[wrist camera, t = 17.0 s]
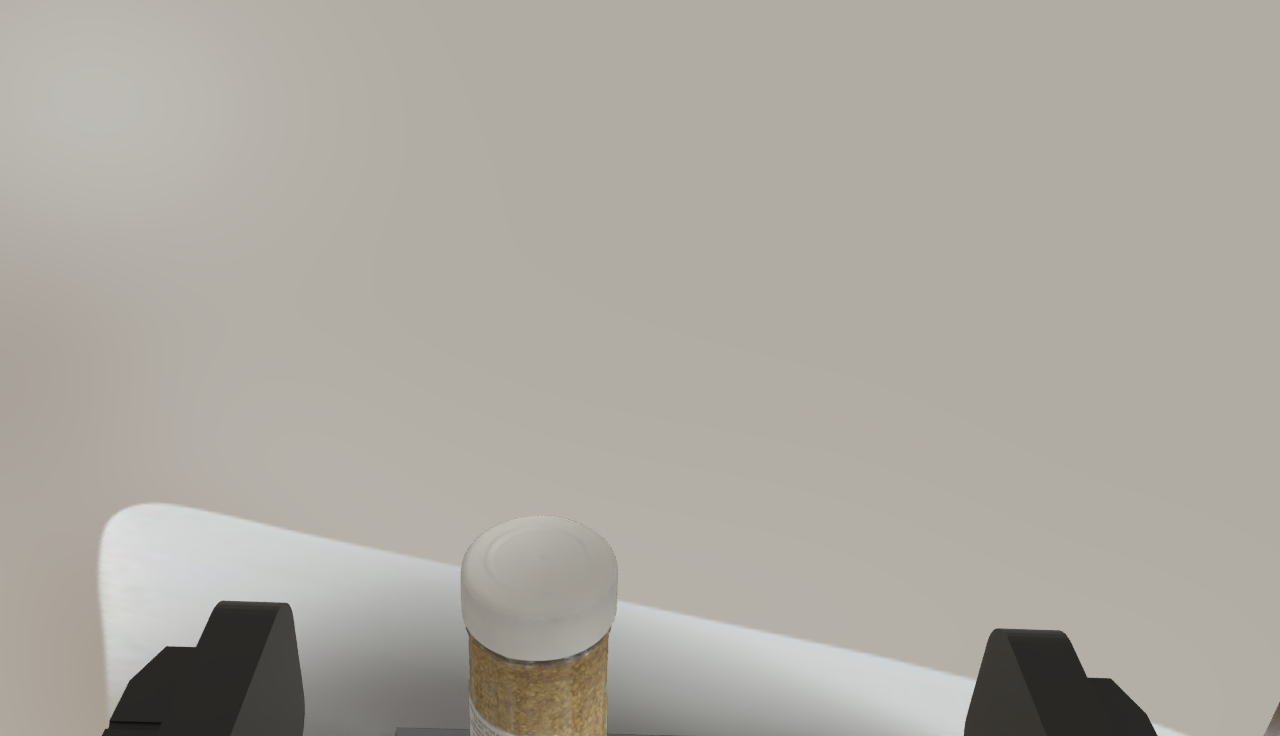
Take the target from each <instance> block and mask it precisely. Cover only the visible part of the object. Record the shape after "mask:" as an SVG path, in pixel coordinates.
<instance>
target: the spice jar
mask: <svg viewBox="0 0 1280 736" xmlns="http://www.w3.org/2000/svg"><path fill="white" fill-rule="evenodd" d="M617 577H618V569H617V562H616V557H615V555H614V553H613V550H612V548H611V547H610V545H609V544H608V543H607V542H606V540H605V539H604V538H603V537H602V536H600V535H599V534H598V533H597V532H595V531H593V530H592V529H591V528H589V527H587V526H585V525H583V524H581V523H578V522H576V521H572V520H569V519H565V518H560V517H552V516H529V517H522V518H517V519H513V520H509V521H506V522H503V523H501V524H498V525H496V526H494V527H492V528H490V529H489V530H487V531H486V532H484V533H483V534H481V535H480V536H479V537H478V538H477V539H476V540H475V541H474V542H473V543H472V544H471V545H470V547H469V548H468V550H467V552H466V554H465V556H464V559H463V562H462V568H461V604H462V615H463V619H464V622H465V625H466V630H467V632H468V635H469V656H470V657H469V665H470V680H469V717H470V736H606V731H607V694H606V682H607V660H608V657H607V654H608V636H609V633H610V630H611V625H612V623H613V621H614V618H615V615H616V610H617V583H618V578H617Z"/></svg>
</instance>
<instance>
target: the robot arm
mask: <svg viewBox="0 0 1280 736" xmlns="http://www.w3.org/2000/svg"><path fill="white" fill-rule="evenodd" d="M304 715H305V703H304V692H303V685H302V677H301V670H300V663H299V656H298V649H297V641H296V634H295V627H294V620H293V614H292V610H291V607H290V605H289V604H288V603H273V602H242V601H221V602H219V603H218V604H217V605H216V606H215V608H214V609H213V611H212V613H211V616H210V618H209V620H208V622H207V624H206V627H205V629H204V631H203V633H202V635H201V638H200V640H199V642H198V644H197V646H196V647H169V646H166V647H165V648H164V649H163V650H162V651H161V652H160V653H159V654H158V655H157V656H156V657H155V658H154V659H152V660H151V661H150V662H149V663H148V664H147V665H146V666H145V667H144V668H143V669H142V670H141V671H140V672H139V673H138V674H136V675H135V676H134V677H133V678H132V679H131V680H130V681H129V683H128V685H127V687H126V689H125V691H124V693H123V695H122V697H121V699H120V701H119V703H118V705H117V707H116V709H115V711H114V713H113V715H112V717H111V719H110V725H109V728H108V729H105V731H104V733H103V735H102V736H302V735H303V727H304ZM964 736H1157V734H1156V732H1155V730H1154V728H1153V726H1152V724H1151V722H1150V720H1149V718H1148V716H1147V714H1146V713H1145V712H1144V711H1143V710H1142V709H1141V708H1140V707H1139V706H1138V705H1137V704H1136V703H1135V702H1134V701H1133V700H1132V699H1131V698H1130V697H1129V696H1128V695H1127V694H1125V692H1123V690H1122V689H1121V688H1120V687H1119V686H1118V685H1117V684H1116V683H1115V682H1114V681H1113V680H1112V679H1107V678H1087V676H1086V674H1085V672H1084V669H1083V667H1082V665H1081V663H1080V661H1079V659H1078V657H1077V654H1076V652H1075V650H1074V648H1073V646H1072V644H1071V642H1070V640H1069V638H1068V637H1067V636H1066V634H1065V633H1063V632H1062V631H1058V630H1057V631H1056V630H1025V629H995V630H993V632H992V633H991V635H990V636H989V639H988V642H987V645H986V649H985V653H984V657H983V660H982V663H981V667H980V671H979V674H978V678H977V681H976V685H975V689H974V692H973V696H972V699H971V703H970V706H969V710H968V714H967V717H966V722H965V729H964ZM1264 736H1280V702H1279V705H1278V707H1277V709H1276V711H1275V713H1274V715H1273V717H1272V719H1271V721H1270V724H1269V726H1268V728H1267V730H1266V732H1265V734H1264Z"/></svg>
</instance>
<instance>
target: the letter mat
mask: <svg viewBox="0 0 1280 736" xmlns="http://www.w3.org/2000/svg"><path fill="white" fill-rule="evenodd" d="M395 736H470V730H465V729H431V728H397V729H396V734H395ZM606 736H670V735H635V734H606Z"/></svg>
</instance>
